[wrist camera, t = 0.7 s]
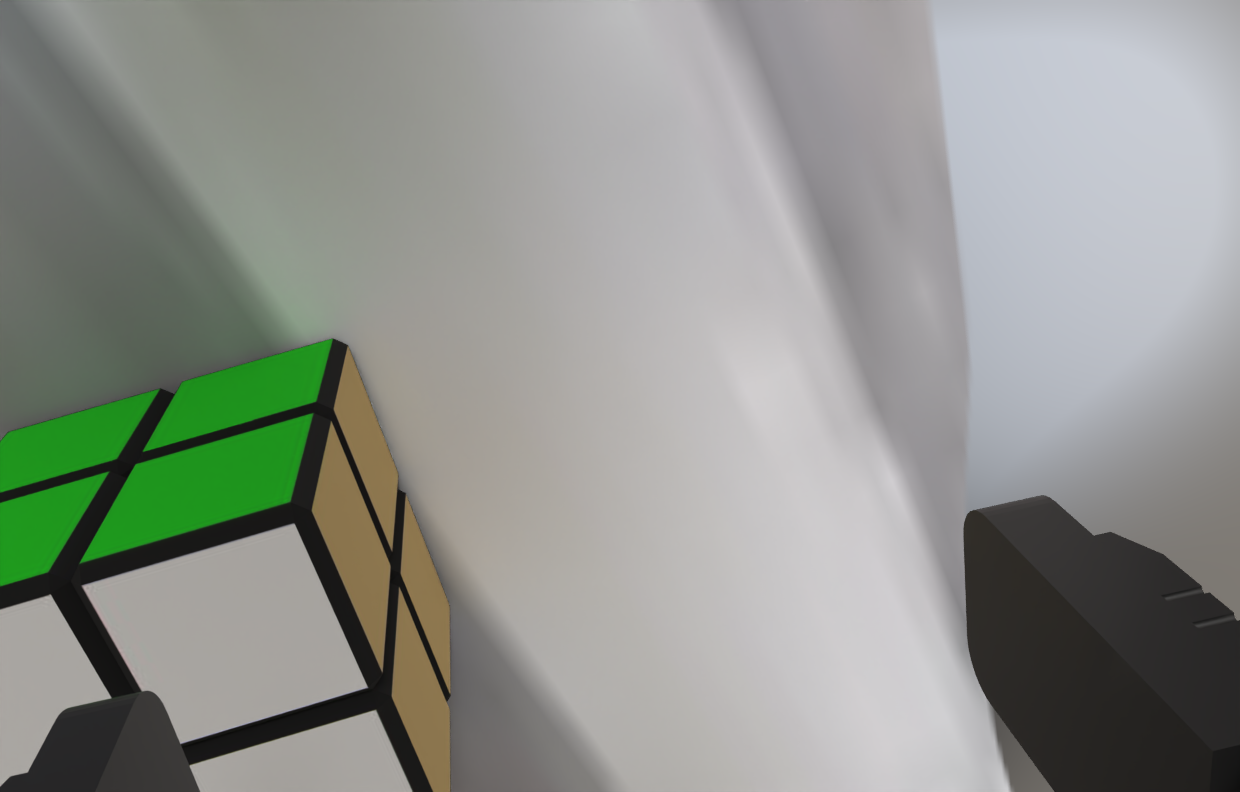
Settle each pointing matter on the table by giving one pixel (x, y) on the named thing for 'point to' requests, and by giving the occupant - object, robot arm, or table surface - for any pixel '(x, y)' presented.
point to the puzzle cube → (229, 581)
